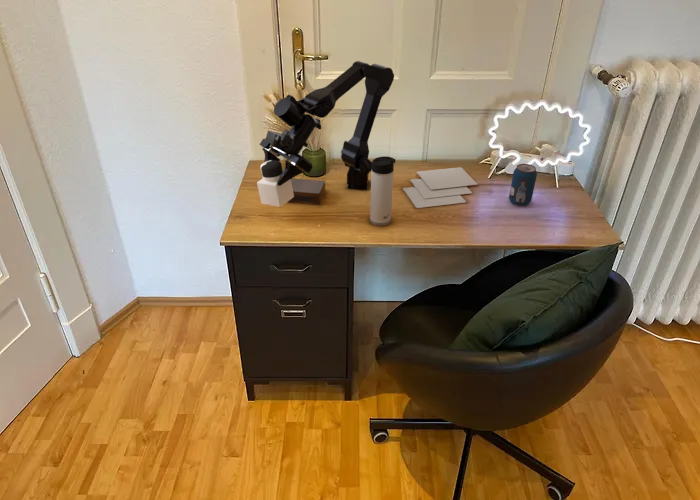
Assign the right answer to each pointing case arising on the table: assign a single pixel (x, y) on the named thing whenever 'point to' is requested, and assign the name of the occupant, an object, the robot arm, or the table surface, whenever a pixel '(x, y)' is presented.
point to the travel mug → (381, 190)
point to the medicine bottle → (274, 185)
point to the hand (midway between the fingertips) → (270, 180)
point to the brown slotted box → (307, 191)
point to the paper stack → (439, 187)
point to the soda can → (522, 185)
